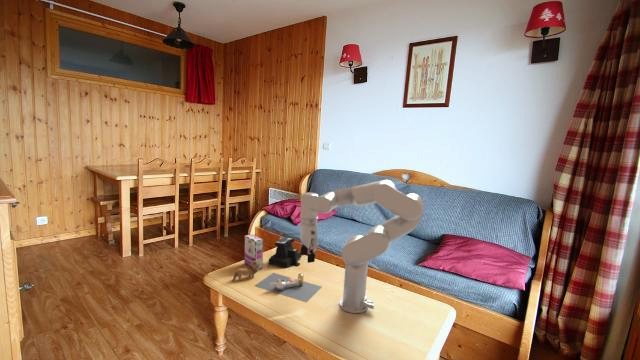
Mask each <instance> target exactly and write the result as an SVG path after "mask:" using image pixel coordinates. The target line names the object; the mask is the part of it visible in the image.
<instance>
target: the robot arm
mask: <svg viewBox="0 0 640 360" xmlns="http://www.w3.org/2000/svg"><path fill="white" fill-rule="evenodd" d="M300 200H301V201H300V220H299V221H300V225H301V226H300V232H299V233H300V234H299V235H300V237H299V238H300V239H299V241H300V253H301V256H307V263H315V259H316V251H317V249H318V246H319V245H318V244H319V238H318V237H319V236H318V235H319V234H318V233H319V232H318V226H317V225H318V221H319V220H318V219H319V216H318V215H319V213H321V214H327V213H330V212H331V211H333V210H334V209H335V208H340V207H343V206H350V205H353V206H355V207H363V206H369V205H372V204H377V205H379V206H381V207H382V208H384V209H385V210H387V211H389V212H391V213H392V214H394V216H393V217H391V218H389V219H387V220H385V221H383V222H381V223H379V224H377V225H375V226H372V227H371V228H370V229H369V231H368V232H367V233H366V234H365V235H361V234H355V235H353V236H351V237H349V239H348V240H347V241H346V243H345V244H344V246H343V247H342V249H341V260H342V261H343V262H344V263H345V264H344V267H345V268H344V278H343V279H344V281H343V295H342V297H341V298H340V299H339V302H338V304H339V307H340V308H341V310H343V311H344V312H347V313H350V314H361V313H362V314H363V313H364V312H366V311H367V310H368V308H369V309H370V310H374V309H375V304H374V302H373V301H372V300H368V296H367V295H366V290H367V277H368V267H369V262H370V261H372V260H374V259H376V258H379V257H380V256H382V255H383V254H385V253H386V252H387V251H388V249H389V248H390V245H391V244H392V243H393V242H395V241H397V240H398V239H401V238H402V237H404V236H407V235H408V234H409V233H411V232H412V231H413V230H415V228H416V227H417V226H418V225H419V223H420V222H421V219H422V218H423V213H424V202H423V199H422V197H421V196H420V195H418V194H417V193H408V194H406V193H403V192H401V191H400V190H398V189H397V188H396V185H395V183H394V182H393V181H391V180H389V179H383V180H378V181H373V182H369V183H365V184H360V185H354V186H351V187H347V188H341V189H335V190H332V191H329V192H326V193H324V194H322V195H319V194H318V193H316V192H303V193H302V194H301V197H300Z"/></svg>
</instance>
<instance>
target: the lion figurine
mask: <svg viewBox="0 0 640 360" xmlns="http://www.w3.org/2000/svg"><path fill="white" fill-rule="evenodd" d="M258 269H259V261H253V262H252V264H251V265H250V266H247V267H246V268H237V269H236V270H235V271H234V274H233V279H232V281H231V282H232V283H233V282H234V281H235V280H236V278H238V279H237V280H238V282H241V280H242V277H243V276H244V277H245V276H248V278H251V279H254V278H255V274H257V272H258ZM259 270H260V269H259Z"/></svg>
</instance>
